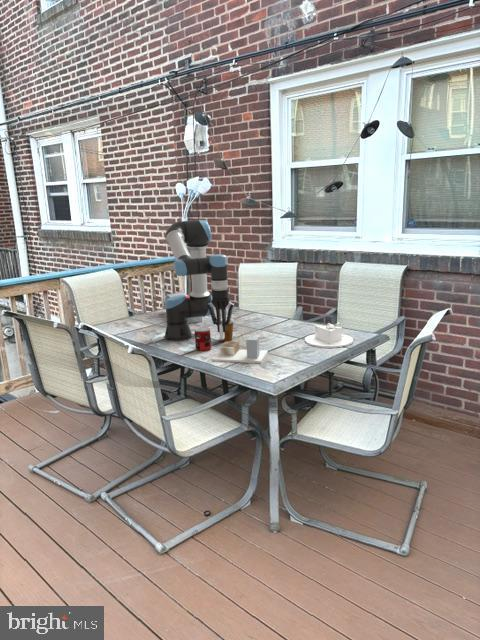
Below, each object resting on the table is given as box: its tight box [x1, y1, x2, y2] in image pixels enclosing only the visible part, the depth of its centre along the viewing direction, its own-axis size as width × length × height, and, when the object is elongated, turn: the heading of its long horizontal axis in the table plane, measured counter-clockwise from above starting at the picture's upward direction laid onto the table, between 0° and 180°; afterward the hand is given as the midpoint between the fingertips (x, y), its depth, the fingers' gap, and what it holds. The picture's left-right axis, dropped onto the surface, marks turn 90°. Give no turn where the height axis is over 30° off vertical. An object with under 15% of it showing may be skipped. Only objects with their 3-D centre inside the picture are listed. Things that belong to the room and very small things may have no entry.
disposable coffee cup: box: [218, 316, 235, 342], centre depth 252 cm, size 10×10×12 cm
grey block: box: [245, 336, 260, 358], centre depth 220 cm, size 5×5×9 cm
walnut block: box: [219, 341, 240, 356], centre depth 228 cm, size 7×4×10 cm
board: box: [211, 348, 269, 364], centre depth 224 cm, size 24×16×1 cm, turn 75°
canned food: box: [194, 326, 212, 352], centre depth 237 cm, size 8×8×11 cm
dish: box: [304, 321, 354, 349], centre depth 242 cm, size 25×25×11 cm
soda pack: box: [165, 292, 203, 325], centre depth 309 cm, size 41×13×14 cm, turn 24°
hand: (222, 338), depth 216 cm, fingers closed
